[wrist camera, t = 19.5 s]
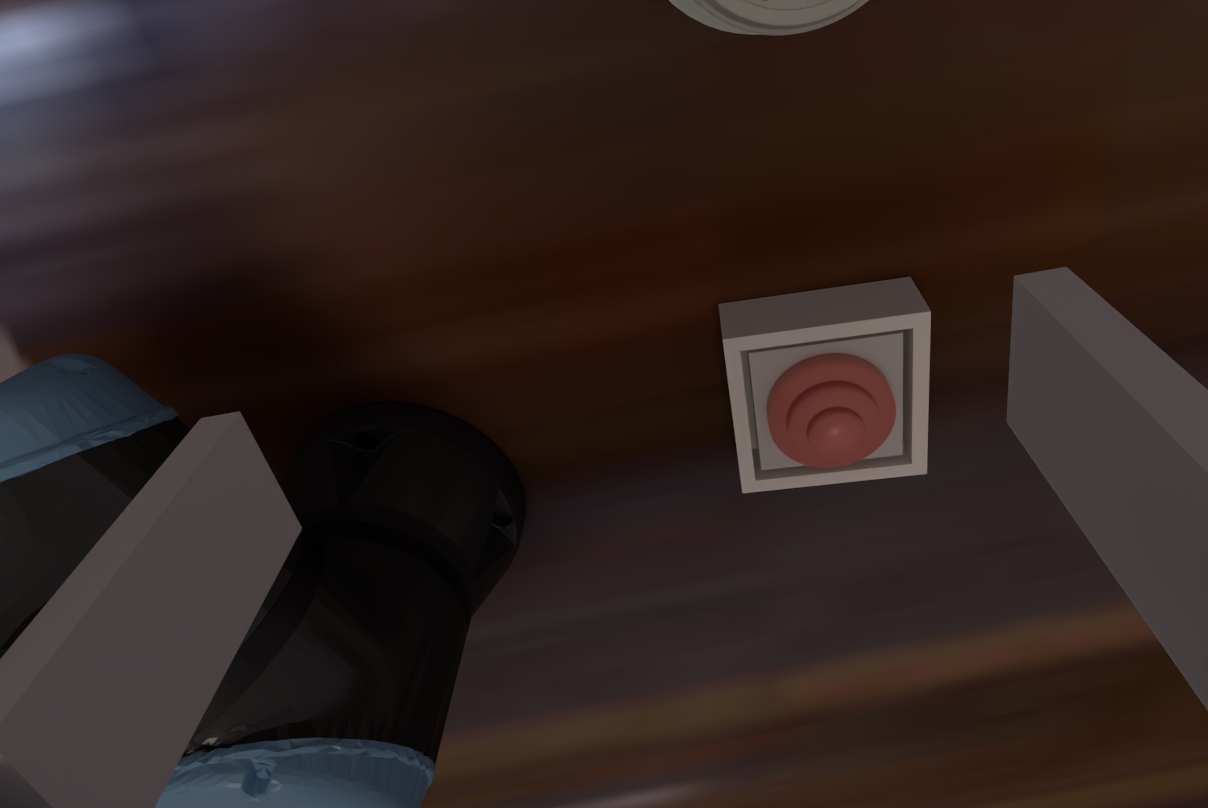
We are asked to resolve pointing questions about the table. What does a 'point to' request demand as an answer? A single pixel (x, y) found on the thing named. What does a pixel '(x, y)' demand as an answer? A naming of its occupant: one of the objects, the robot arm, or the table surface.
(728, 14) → the coffee cup
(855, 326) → the popper housing
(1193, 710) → the table surface
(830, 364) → the dome plunger
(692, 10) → the pad
